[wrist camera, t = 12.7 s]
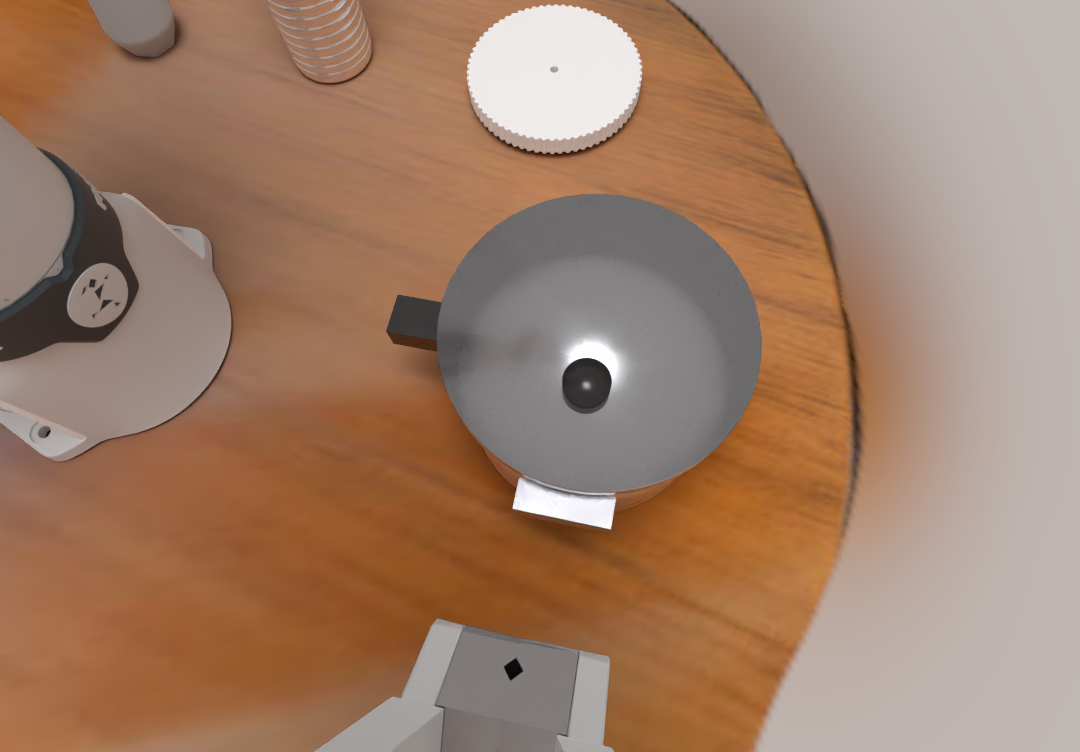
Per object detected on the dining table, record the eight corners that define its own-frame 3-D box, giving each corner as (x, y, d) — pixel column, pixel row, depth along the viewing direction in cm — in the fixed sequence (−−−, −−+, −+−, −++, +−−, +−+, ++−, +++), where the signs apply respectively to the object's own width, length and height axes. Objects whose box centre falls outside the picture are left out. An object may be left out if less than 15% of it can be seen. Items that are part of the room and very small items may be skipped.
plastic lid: (579, 7, 58) (580, -19, 55) (671, 112, 53) (677, 89, 51) (440, 74, 55) (435, 50, 53) (526, 190, 51) (524, 169, 49)
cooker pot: (380, 501, 43) (331, 470, 33) (449, 266, 49) (423, 185, 39) (685, 566, 41) (723, 552, 32) (718, 314, 47) (758, 239, 38)
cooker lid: (403, 458, 33) (390, 444, 31) (481, 185, 39) (476, 154, 36) (737, 527, 32) (753, 518, 29) (768, 232, 37) (784, 203, 35)
